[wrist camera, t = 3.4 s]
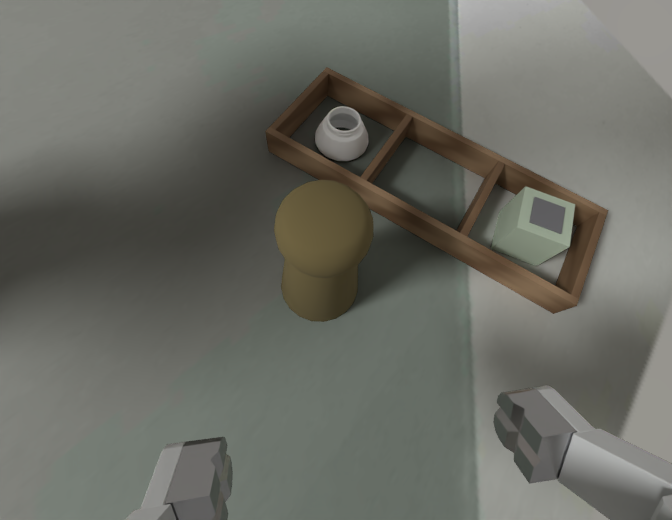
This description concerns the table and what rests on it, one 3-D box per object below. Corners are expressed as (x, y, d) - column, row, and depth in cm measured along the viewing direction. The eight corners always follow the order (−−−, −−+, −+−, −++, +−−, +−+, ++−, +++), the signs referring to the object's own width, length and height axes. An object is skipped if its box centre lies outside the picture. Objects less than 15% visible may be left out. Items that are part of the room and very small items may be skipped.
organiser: (268, 151, 30) (265, 131, 28) (325, 89, 34) (326, 67, 32) (553, 313, 26) (576, 305, 24) (585, 224, 30) (608, 210, 28)
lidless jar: (326, 116, 33) (307, 153, 31) (328, 91, 30) (306, 129, 28) (373, 132, 32) (357, 171, 31) (379, 108, 30) (361, 148, 28)
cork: (352, 245, 27) (376, 157, 17) (363, 317, 25) (398, 264, 15) (279, 251, 27) (259, 163, 17) (283, 325, 25) (264, 276, 14)
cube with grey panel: (490, 249, 28) (518, 226, 25) (499, 212, 30) (526, 185, 26) (535, 266, 28) (571, 246, 24) (542, 228, 30) (576, 203, 26)
